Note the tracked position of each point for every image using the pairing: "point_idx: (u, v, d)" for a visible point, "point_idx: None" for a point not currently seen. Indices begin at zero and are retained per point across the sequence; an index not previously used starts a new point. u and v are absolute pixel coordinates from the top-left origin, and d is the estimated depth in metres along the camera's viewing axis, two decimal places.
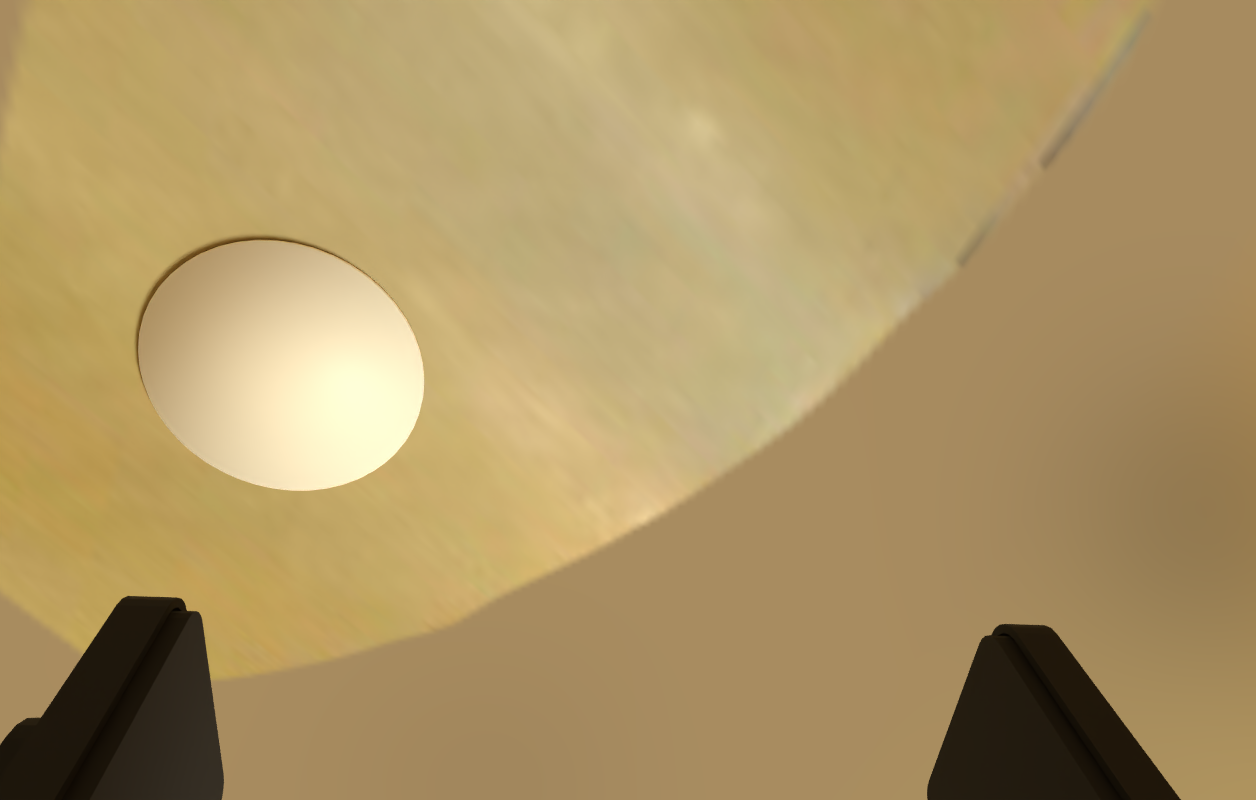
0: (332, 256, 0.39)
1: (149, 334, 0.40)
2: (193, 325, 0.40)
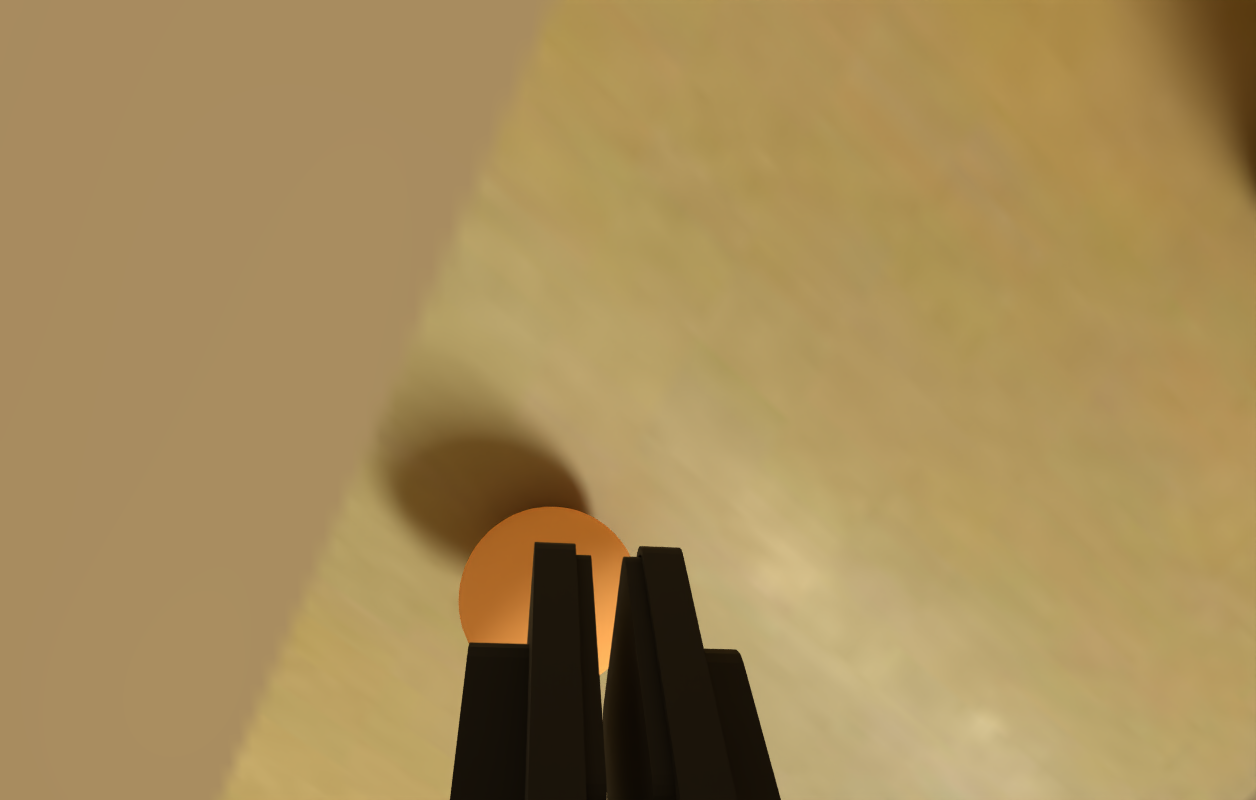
0: None
1: None
2: None
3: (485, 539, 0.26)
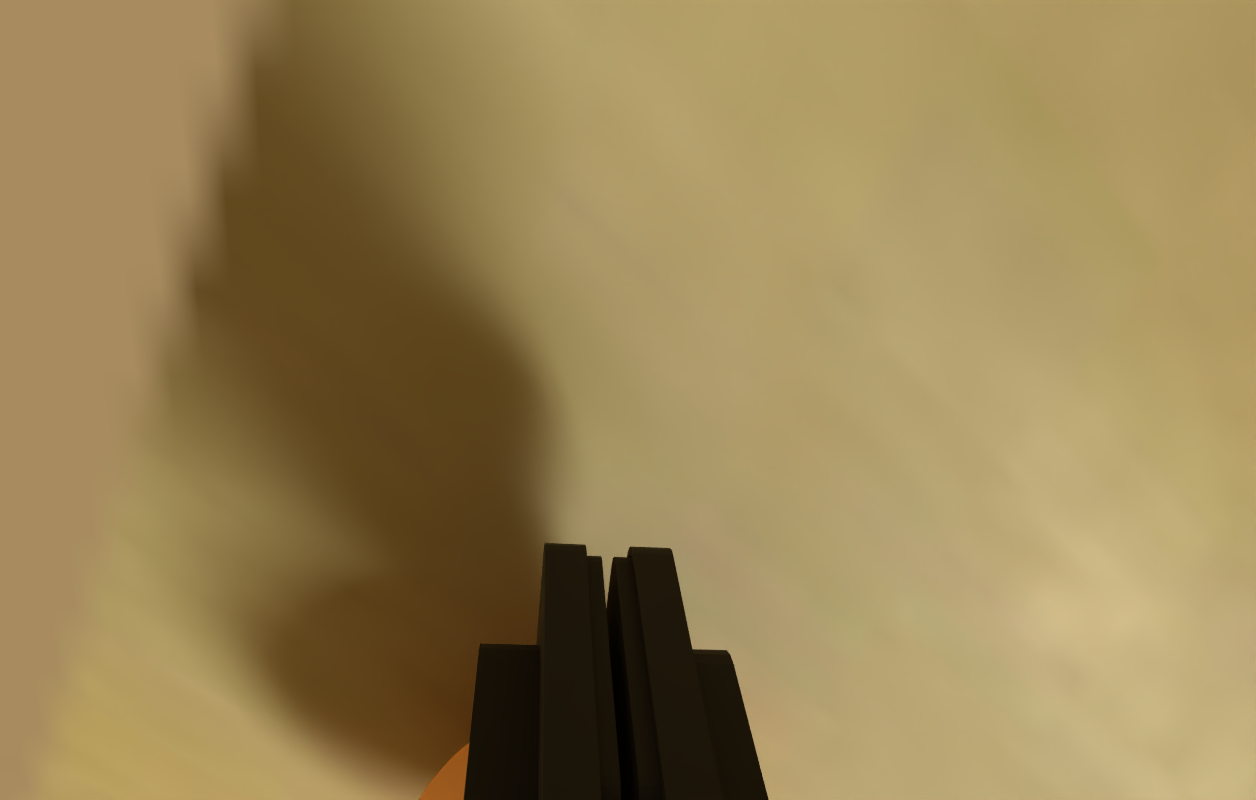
0: None
1: None
2: None
3: None
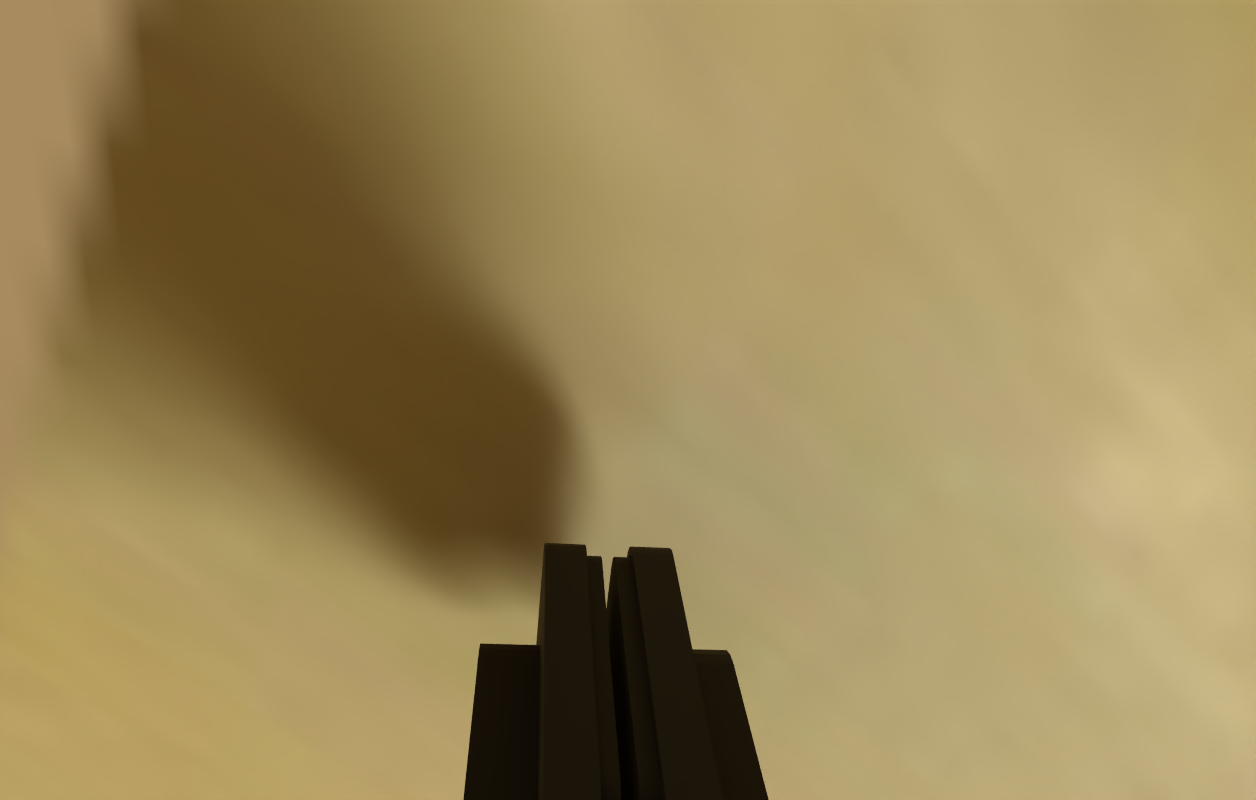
0: None
1: None
2: None
3: None
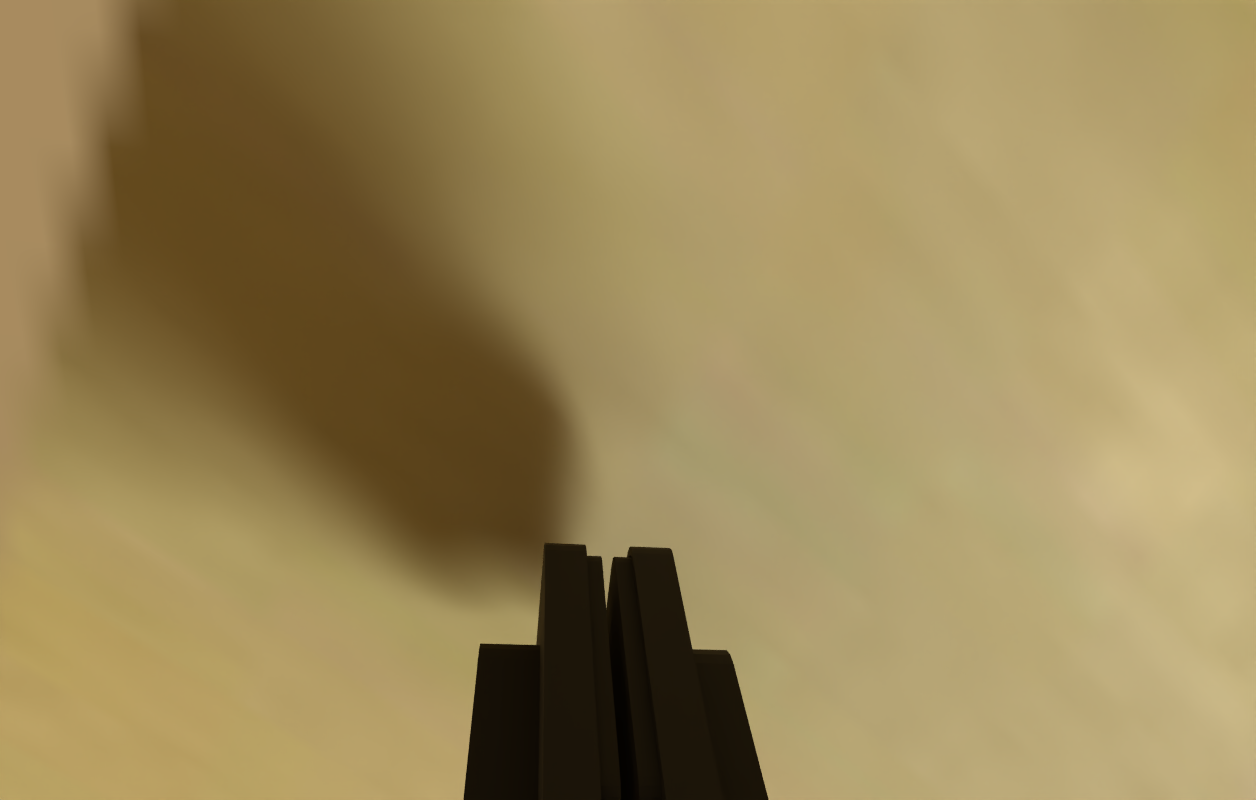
0: None
1: None
2: None
3: None
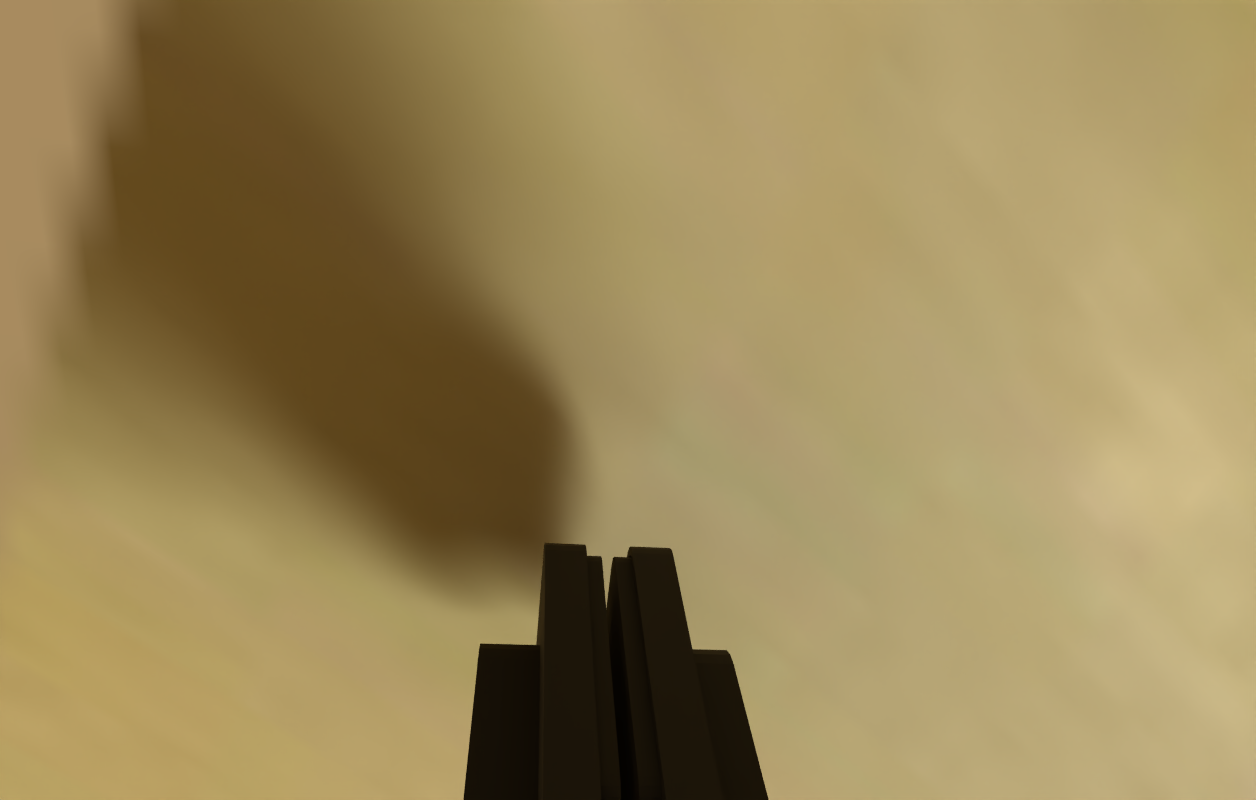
0: None
1: None
2: None
3: None
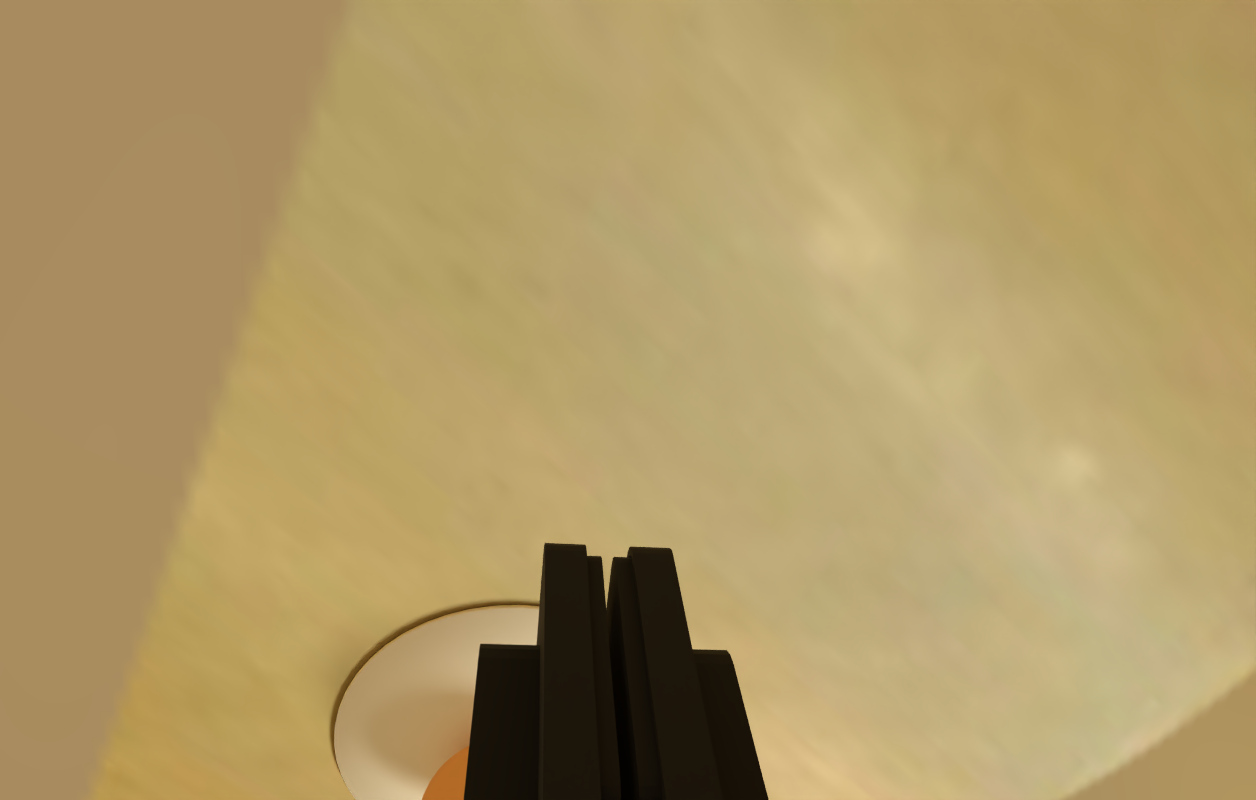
0: None
1: (350, 712, 0.32)
2: (407, 700, 0.32)
3: None
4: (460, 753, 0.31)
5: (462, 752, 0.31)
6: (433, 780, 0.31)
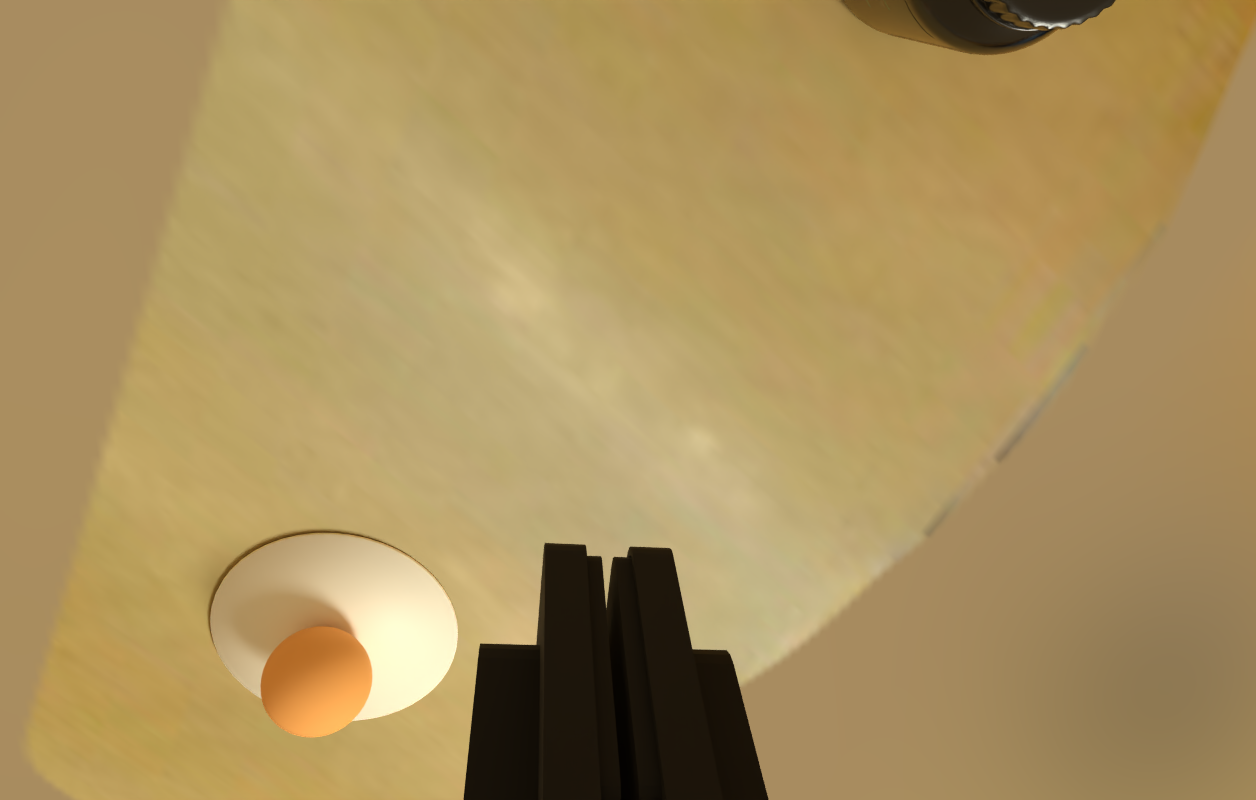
0: (380, 544, 0.45)
1: (220, 606, 0.46)
2: (259, 598, 0.46)
3: (266, 693, 0.44)
4: (293, 634, 0.46)
5: (294, 633, 0.46)
6: (273, 651, 0.45)
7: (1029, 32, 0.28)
